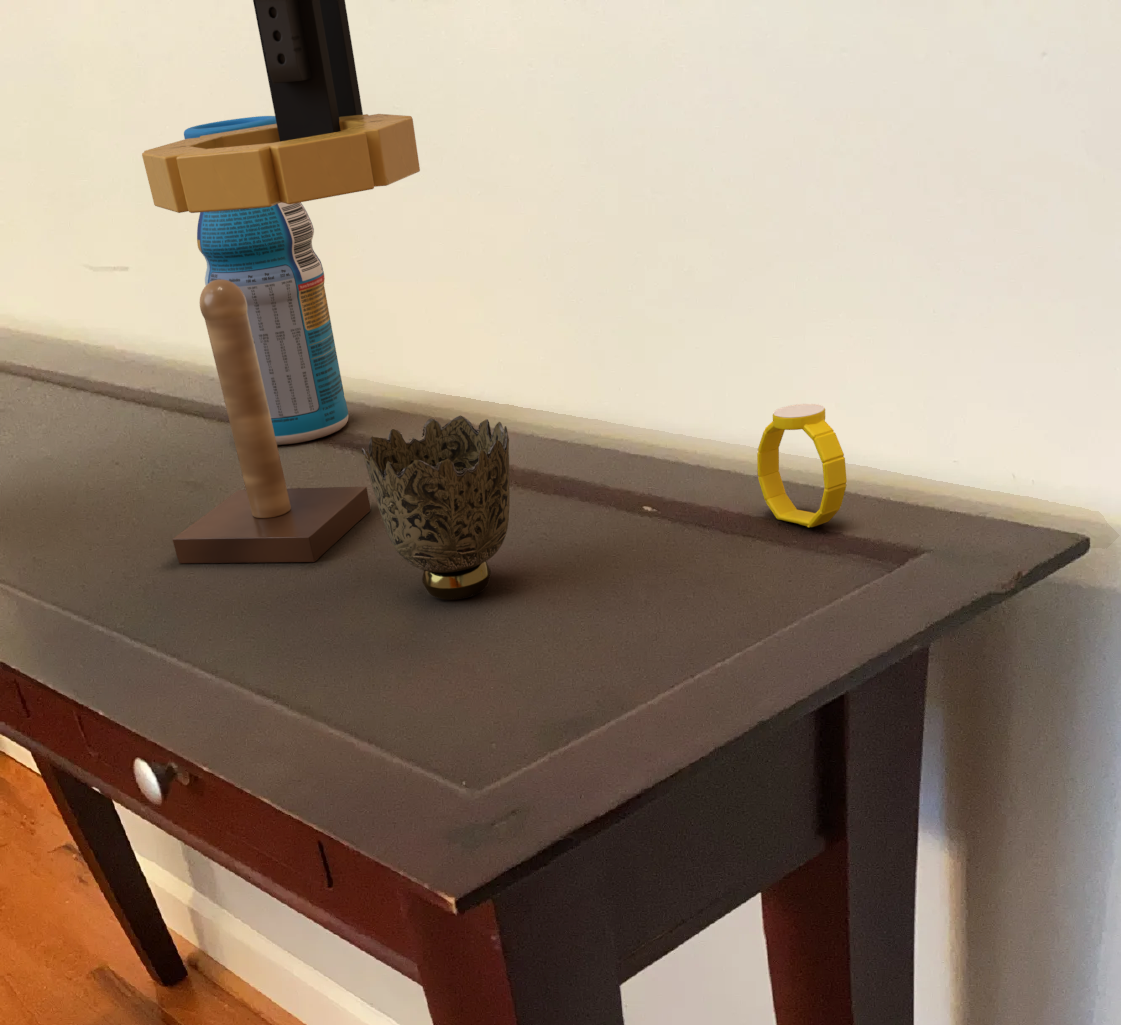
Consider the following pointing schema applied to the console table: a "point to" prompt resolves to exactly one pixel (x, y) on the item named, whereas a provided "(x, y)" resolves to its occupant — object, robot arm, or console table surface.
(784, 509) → the watch
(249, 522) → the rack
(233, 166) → the ring
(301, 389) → the beverage bottle
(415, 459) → the cup
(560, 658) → the console table surface
